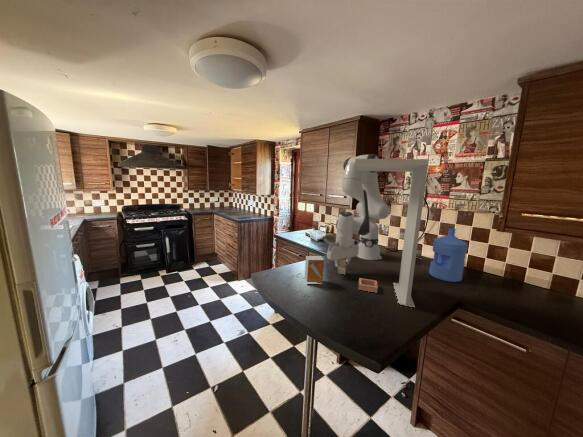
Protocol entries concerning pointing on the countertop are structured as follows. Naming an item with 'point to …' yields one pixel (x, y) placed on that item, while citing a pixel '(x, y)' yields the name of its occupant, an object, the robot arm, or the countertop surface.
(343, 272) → the peg
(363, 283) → the socket
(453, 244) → the water jug
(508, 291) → the countertop surface
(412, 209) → the stand
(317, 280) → the small box
